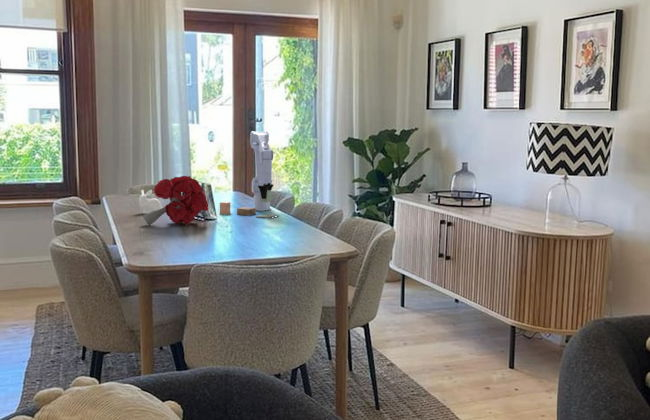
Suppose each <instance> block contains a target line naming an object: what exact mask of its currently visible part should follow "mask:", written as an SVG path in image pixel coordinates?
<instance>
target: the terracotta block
mask: <svg viewBox="0 0 650 420" xmlns="http://www.w3.org/2000/svg"><path fill="white" fill-rule="evenodd" d="M219 214H221V215H230V214H231V202H229V201H221V202H219Z"/></svg>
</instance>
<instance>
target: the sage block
mask: <svg viewBox="0 0 650 420" xmlns="http://www.w3.org/2000/svg"><path fill="white" fill-rule="evenodd" d="M271 196H272V189H271V190H268V191H267V196H266V199H262V197H261V193H260V202H270V203H271V201H272V200H271V198H272V197H271Z"/></svg>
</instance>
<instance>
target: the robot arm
mask: <svg viewBox="0 0 650 420" xmlns="http://www.w3.org/2000/svg"><path fill="white" fill-rule="evenodd" d="M249 135H250V136H249V139H250V140H249V142H250V148H251V149H253V151H254V159H255V177H253V178H252V179H251V193H252V194H254V195H253V201H254V202H253V208H256V211H257V212H265V210H266V211H269V210H272V208H271V202H260V193H261V197H262V199H266V196H267V191H268V190H271V191H272V190H273V187H274V184H273V179H272V172H273V171H272V167H273V165H272V164H273V163H272V162H273V159H274V151H273V149H271V148H270V145H269V141H270V139H269V138H270V134H269V132H268V131H251V132H250V134H249Z"/></svg>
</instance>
